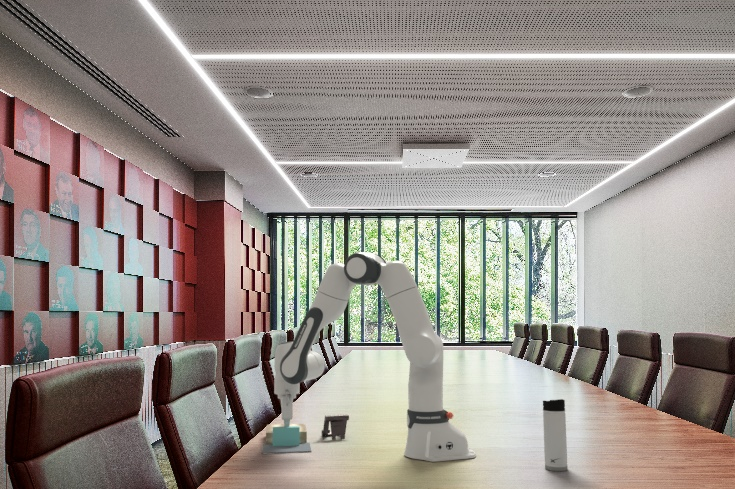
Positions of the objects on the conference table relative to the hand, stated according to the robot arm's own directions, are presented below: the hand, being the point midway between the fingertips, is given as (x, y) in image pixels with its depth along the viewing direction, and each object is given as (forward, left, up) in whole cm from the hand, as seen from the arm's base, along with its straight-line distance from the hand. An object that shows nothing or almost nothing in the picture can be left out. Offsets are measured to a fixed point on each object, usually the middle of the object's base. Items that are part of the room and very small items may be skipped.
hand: (286, 429), depth 214 cm
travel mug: (-77, +46, -5) cm, 90 cm away
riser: (0, -8, -5) cm, 10 cm away
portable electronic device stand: (-18, -9, -6) cm, 21 cm away
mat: (0, +6, -5) cm, 8 cm away
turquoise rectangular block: (0, +2, -2) cm, 3 cm away
